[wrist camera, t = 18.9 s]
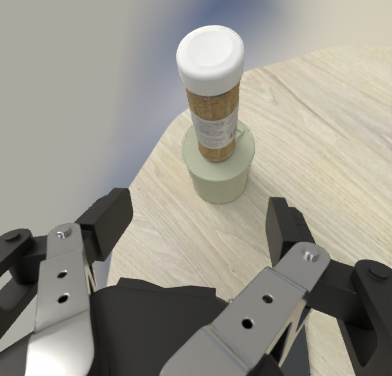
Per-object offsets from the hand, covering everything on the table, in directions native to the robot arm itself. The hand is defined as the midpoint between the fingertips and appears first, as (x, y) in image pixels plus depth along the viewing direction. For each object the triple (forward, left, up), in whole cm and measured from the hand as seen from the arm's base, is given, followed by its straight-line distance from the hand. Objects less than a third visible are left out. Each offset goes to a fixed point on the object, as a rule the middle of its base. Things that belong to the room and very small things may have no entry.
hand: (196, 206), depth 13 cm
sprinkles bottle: (-2, +10, -12) cm, 16 cm away
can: (-2, +10, -24) cm, 27 cm away
